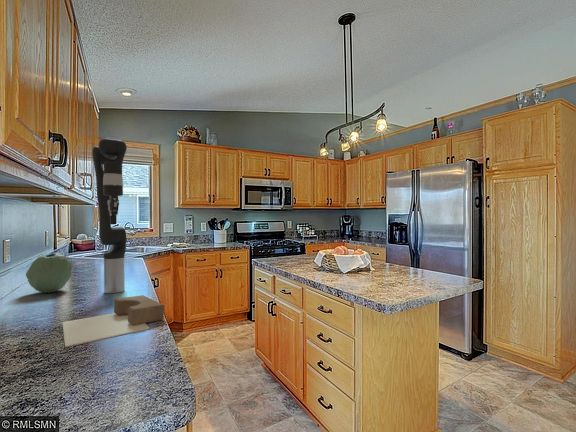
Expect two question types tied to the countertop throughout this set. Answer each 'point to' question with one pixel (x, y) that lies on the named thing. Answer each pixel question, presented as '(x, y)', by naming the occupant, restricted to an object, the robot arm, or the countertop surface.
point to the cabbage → (49, 272)
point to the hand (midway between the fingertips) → (113, 224)
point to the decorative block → (139, 309)
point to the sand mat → (98, 328)
